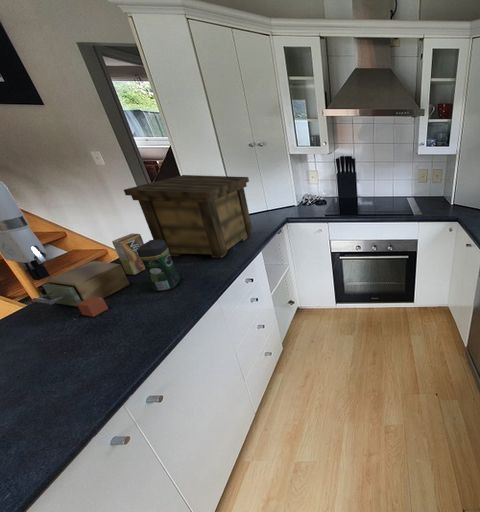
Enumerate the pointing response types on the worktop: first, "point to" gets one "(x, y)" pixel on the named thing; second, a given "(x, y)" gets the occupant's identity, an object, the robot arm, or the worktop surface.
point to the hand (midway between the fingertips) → (42, 277)
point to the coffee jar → (158, 265)
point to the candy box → (129, 253)
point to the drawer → (60, 295)
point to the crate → (196, 212)
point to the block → (92, 306)
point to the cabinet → (93, 279)
